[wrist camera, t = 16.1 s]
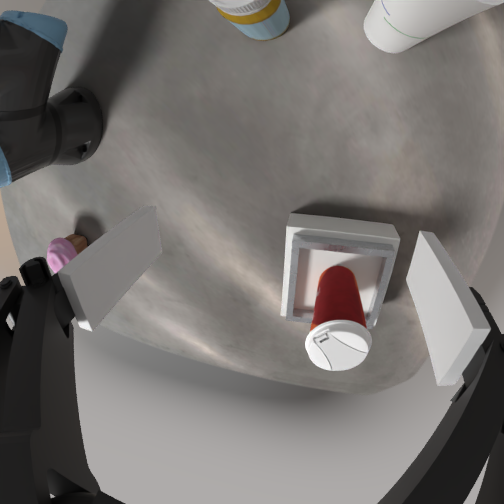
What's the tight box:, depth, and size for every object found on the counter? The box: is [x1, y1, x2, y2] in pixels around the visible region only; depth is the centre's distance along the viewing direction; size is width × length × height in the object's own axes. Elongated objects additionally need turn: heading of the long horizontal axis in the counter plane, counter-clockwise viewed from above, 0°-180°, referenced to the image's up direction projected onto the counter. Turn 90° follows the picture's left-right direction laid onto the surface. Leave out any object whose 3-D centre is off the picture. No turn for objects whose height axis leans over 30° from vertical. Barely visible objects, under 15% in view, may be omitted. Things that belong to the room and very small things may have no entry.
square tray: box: [281, 213, 400, 329], centre depth 43 cm, size 16×16×7 cm
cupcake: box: [47, 234, 88, 274], centre depth 53 cm, size 9×9×10 cm
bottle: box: [209, 0, 290, 41], centre depth 23 cm, size 7×7×15 cm
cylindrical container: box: [364, 0, 504, 53], centre depth 16 cm, size 7×7×25 cm
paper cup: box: [305, 266, 372, 371], centre depth 35 cm, size 8×8×14 cm
